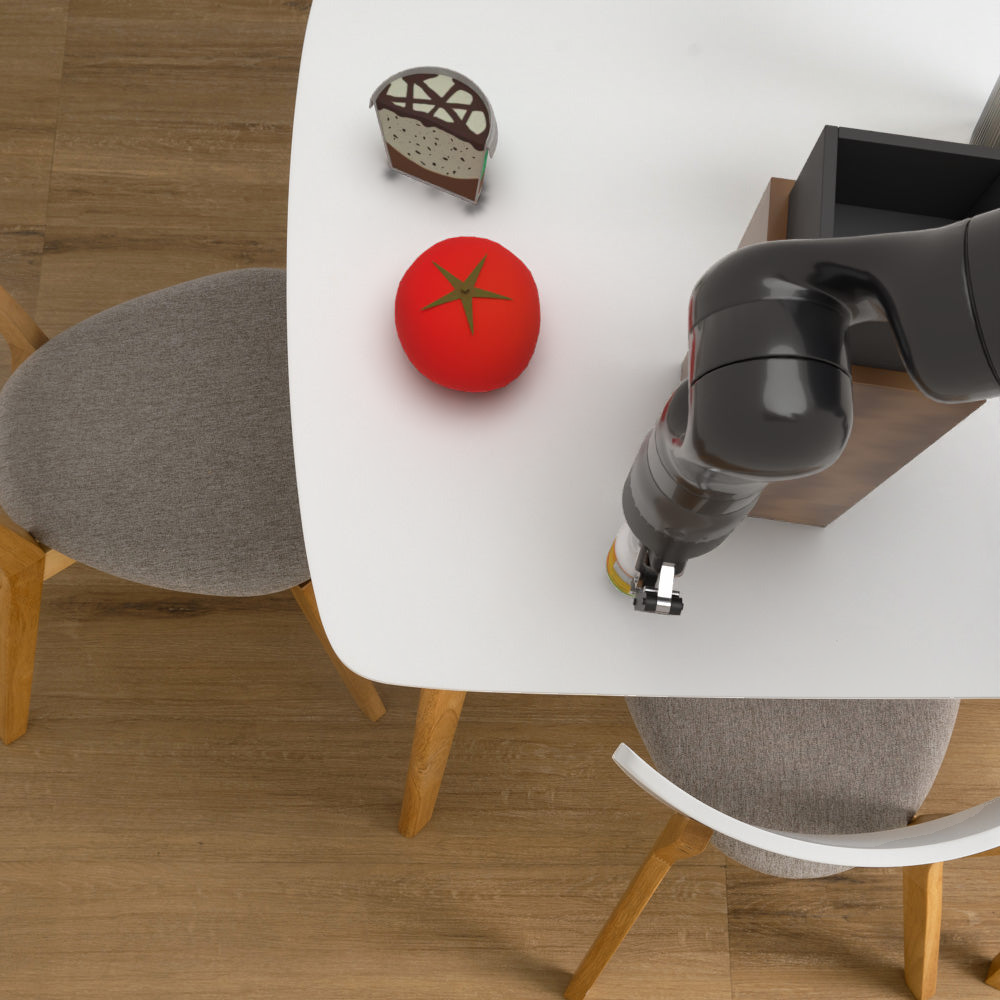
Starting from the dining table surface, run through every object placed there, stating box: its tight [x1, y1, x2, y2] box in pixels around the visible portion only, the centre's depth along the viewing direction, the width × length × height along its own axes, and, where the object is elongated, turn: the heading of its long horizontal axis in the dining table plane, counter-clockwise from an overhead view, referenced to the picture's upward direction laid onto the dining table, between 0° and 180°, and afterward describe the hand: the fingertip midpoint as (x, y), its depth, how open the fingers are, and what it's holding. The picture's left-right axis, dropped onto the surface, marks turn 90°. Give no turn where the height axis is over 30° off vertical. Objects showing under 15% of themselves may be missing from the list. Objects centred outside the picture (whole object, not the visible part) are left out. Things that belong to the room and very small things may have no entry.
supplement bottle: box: [605, 522, 653, 599], centre depth 76 cm, size 5×5×10 cm
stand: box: [679, 176, 988, 528], centre depth 74 cm, size 14×14×28 cm
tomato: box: [394, 235, 542, 393], centre depth 85 cm, size 14×13×10 cm
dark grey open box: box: [786, 124, 1000, 372], centre depth 58 cm, size 12×12×7 cm
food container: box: [368, 65, 499, 205], centre depth 91 cm, size 12×6×10 cm, turn 65°
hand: (648, 550), depth 75 cm, fingers closed on supplement bottle, 5 cm apart
